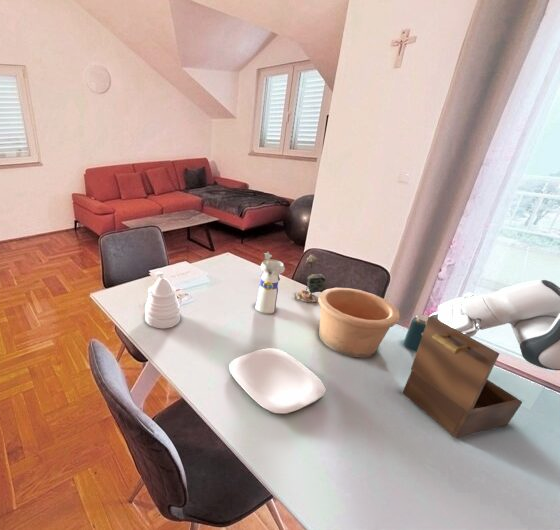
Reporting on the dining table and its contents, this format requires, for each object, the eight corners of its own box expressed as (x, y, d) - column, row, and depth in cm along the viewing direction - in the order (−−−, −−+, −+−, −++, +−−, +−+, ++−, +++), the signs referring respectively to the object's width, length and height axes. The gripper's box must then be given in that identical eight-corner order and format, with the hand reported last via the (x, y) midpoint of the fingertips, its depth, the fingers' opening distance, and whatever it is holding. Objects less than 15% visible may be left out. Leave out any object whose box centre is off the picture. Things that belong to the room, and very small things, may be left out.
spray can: (411, 340, 104) (423, 312, 100) (427, 350, 99) (439, 321, 95) (399, 342, 103) (410, 314, 99) (413, 352, 98) (425, 323, 94)
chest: (448, 383, 87) (459, 361, 84) (507, 425, 75) (522, 401, 71) (402, 392, 84) (411, 370, 81) (455, 438, 72) (469, 413, 68)
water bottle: (275, 316, 117) (287, 254, 107) (252, 311, 120) (261, 251, 110) (278, 305, 124) (289, 247, 114) (256, 301, 127) (264, 243, 117)
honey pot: (138, 315, 118) (137, 272, 111) (167, 305, 124) (167, 264, 117) (157, 332, 108) (156, 286, 101) (186, 321, 114) (188, 277, 107)
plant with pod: (322, 307, 123) (333, 260, 115) (291, 299, 129) (300, 254, 120) (324, 298, 129) (335, 253, 121) (295, 291, 135) (304, 248, 127)
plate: (272, 425, 75) (273, 420, 74) (219, 367, 92) (220, 363, 92) (335, 395, 83) (336, 390, 82) (275, 347, 101) (276, 342, 100)
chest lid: (431, 315, 73) (415, 319, 73) (499, 353, 61) (481, 358, 61) (413, 368, 80) (398, 372, 80) (471, 411, 68) (455, 416, 68)
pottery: (311, 316, 117) (319, 282, 111) (380, 331, 109) (392, 295, 103) (309, 351, 99) (318, 312, 93) (391, 372, 91) (408, 331, 85)
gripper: (490, 340, 80) (428, 353, 90) (483, 307, 95) (430, 322, 104) (474, 319, 81) (414, 335, 91) (469, 290, 95) (418, 306, 105)
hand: (423, 328), depth 98 cm, fingers open, 8 cm apart
